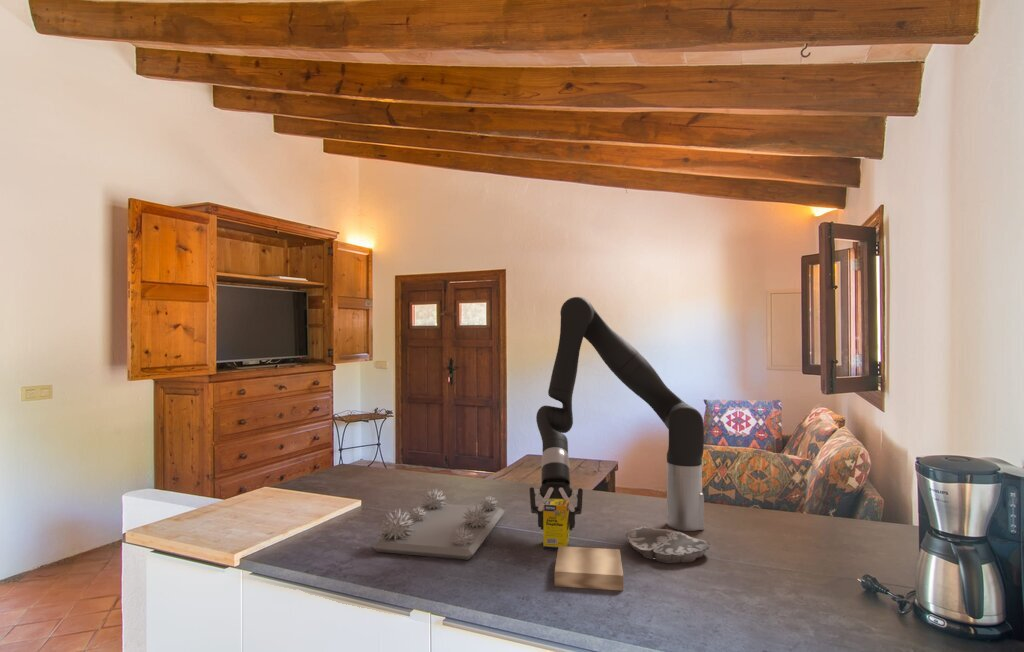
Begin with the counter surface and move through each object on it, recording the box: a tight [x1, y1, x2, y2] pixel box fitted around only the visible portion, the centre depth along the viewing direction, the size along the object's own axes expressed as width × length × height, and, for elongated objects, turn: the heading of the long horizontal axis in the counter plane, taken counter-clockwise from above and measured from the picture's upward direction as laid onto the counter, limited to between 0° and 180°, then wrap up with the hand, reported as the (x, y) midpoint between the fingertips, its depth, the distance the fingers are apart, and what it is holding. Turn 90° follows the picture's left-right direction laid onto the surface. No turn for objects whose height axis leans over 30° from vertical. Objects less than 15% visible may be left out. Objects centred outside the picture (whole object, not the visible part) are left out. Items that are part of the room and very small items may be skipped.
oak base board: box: [554, 546, 624, 592], centre depth 117 cm, size 14×14×3 cm
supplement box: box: [542, 499, 570, 551], centre depth 133 cm, size 6×6×11 cm
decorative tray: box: [372, 488, 506, 561], centre depth 143 cm, size 35×26×10 cm
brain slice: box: [625, 526, 711, 564], centre depth 129 cm, size 20×17×3 cm
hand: (556, 528), depth 132 cm, fingers closed on supplement box, 6 cm apart
